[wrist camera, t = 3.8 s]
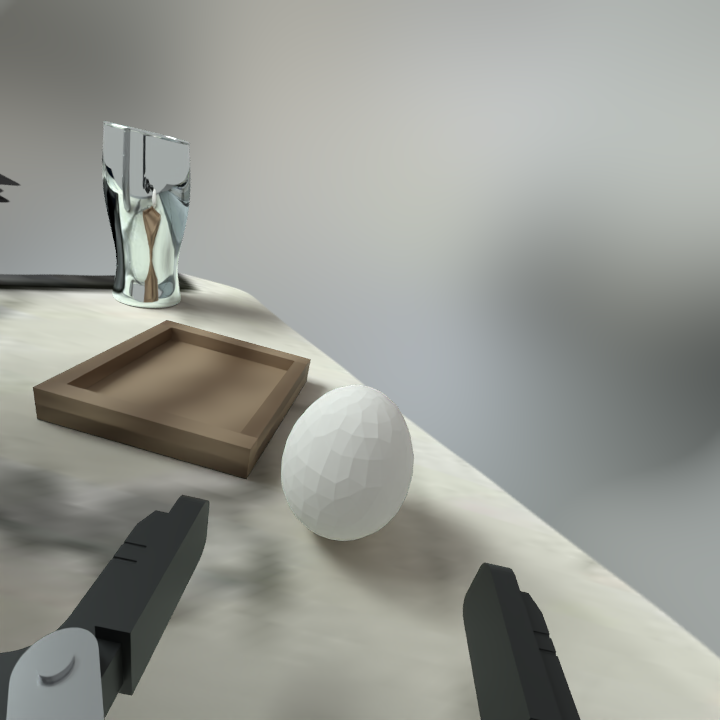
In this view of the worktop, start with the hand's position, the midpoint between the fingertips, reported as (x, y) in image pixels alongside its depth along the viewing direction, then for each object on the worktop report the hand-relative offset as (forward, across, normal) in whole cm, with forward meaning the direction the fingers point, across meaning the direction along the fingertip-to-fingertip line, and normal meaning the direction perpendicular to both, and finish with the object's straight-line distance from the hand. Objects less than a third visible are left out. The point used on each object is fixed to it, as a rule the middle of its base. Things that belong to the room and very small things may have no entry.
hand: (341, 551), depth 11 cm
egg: (+7, 0, +6) cm, 9 cm away
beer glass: (+30, +22, +6) cm, 38 cm away
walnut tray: (+15, +10, +6) cm, 19 cm away
